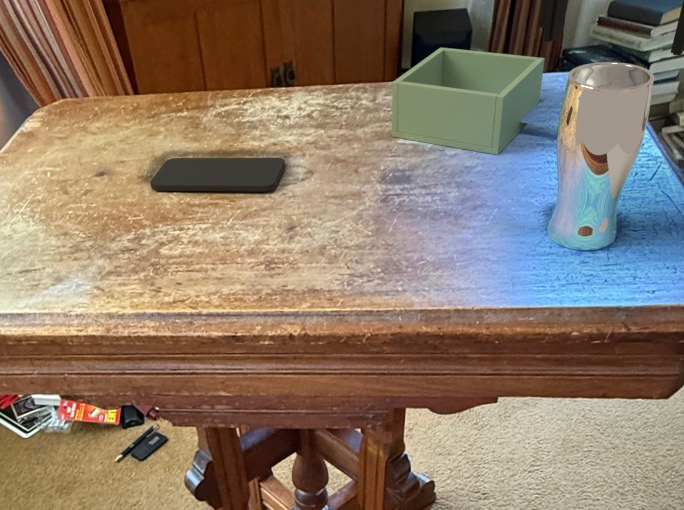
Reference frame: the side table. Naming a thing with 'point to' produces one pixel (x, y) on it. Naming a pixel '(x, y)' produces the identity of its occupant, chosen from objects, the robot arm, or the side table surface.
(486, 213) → the side table surface
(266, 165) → the phone
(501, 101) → the bin
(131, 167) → the side table surface
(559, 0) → the robot arm
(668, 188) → the side table surface
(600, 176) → the beer glass
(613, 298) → the side table surface
